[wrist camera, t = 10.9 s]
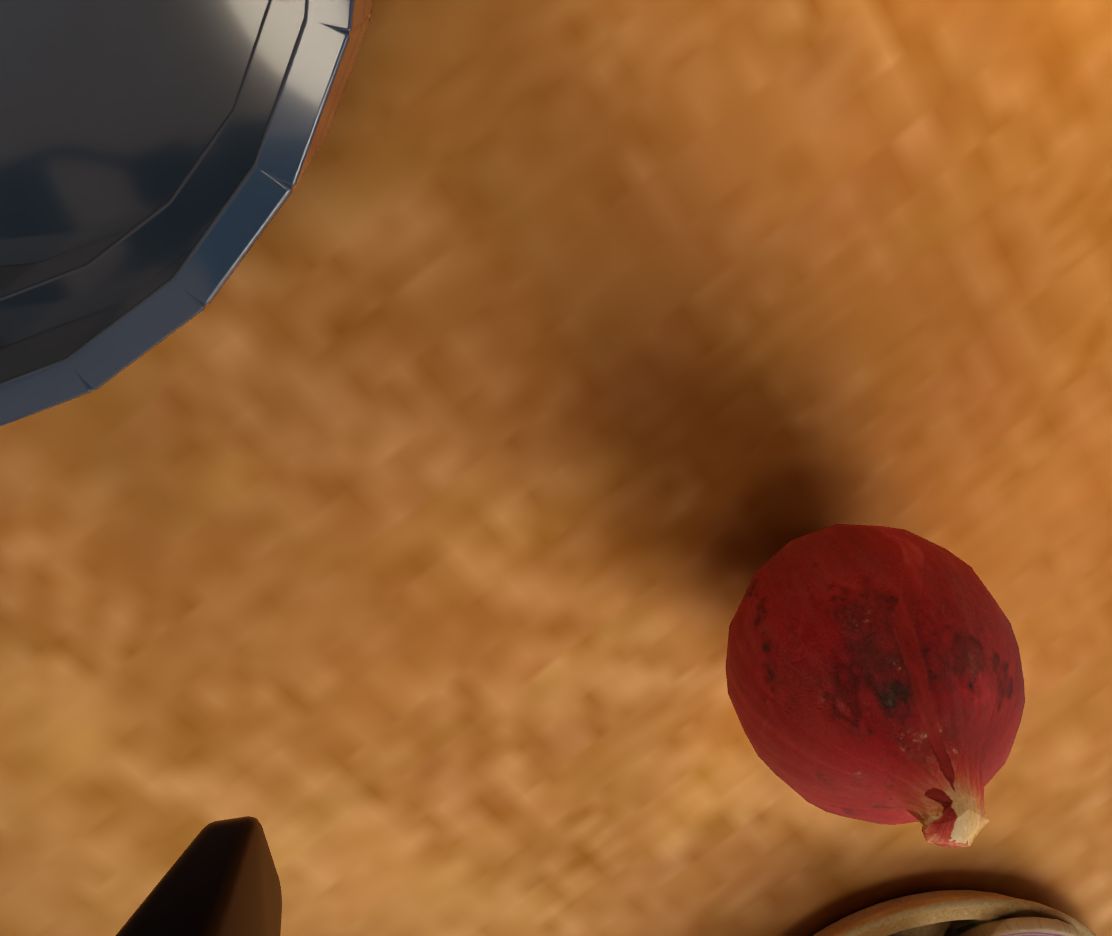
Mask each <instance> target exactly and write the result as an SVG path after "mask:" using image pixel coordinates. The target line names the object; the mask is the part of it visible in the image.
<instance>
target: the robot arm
mask: <svg viewBox="0 0 1112 936" xmlns="http://www.w3.org/2000/svg"><path fill="white" fill-rule="evenodd" d="M281 913H282V896H281V887H280V881H279V878H278V875H277V871H276V868H275V865H274V862H273V859H272V856H271V853H270V850H269V847H268V844H267V840H266V837H265V834H264V831H263V828H262V826H261V824H260V823H259V821H258V820H257V819H256V818H254V817H249V816H248V817H241V818H234V819H228V820H221V821H215V822H212V823H210V824H208V825H207V826H206V827H205V828H203V830H202V831H201V832H200V833H199V834H198V835H197V837H196V838H195V839H194V840H193V842H192V843H191V844H190V845H189V846H188V848H187V849H186V850H185V851H184V853H183V854H182V855H181V856H180V858H179V859H178V860H177V861H176V862H175V864H174V865H173V866H172V867H171V869H170V870H169V871H168V872H167V873H166V875H165V876H164V877H163V878H162V880H161V881H160V882H159V883H158V884H157V886H156V887H155V888H154V889H153V891H152V892H151V893H150V894H149V896H148V897H147V898H146V899H145V900H144V902H143V903H142V904H141V905H140V907H139V908H138V909H137V910H136V911H135V913H134V914H133V915H132V916H131V918H130V919H129V920H128V921H127V923H126V924H125V925H124V926H123V927H122V929H121V930H120V931H119V932H118V934H117V935H116V936H280V930H281Z"/></svg>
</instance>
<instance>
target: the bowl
mask: <svg viewBox="0 0 1112 936" xmlns="http://www.w3.org/2000/svg"><path fill="white" fill-rule="evenodd" d="M372 3H373V0H0V426H3V425H5V424H8V423H11V422H13V421H16V420H19V419H21V418H24V417H27V416H29V415H32V414H35V413H37V412H40V411H43V410H45V409H48V408H51V407H53V406H56V405H59V404H61V403H64V402H67V401H69V400H72V399H75V398H77V397H80V396H83V395H85V394H88V393H90V392H91V391H92V390H95V389H98V388H99V387H101V386H102V385H103V384H105V383H106V382H107V381H109V380H110V379H111V378H113V377H114V376H115V375H117V374H118V373H119V372H121V371H122V370H123V369H125V368H126V367H128V366H129V365H130V364H132V363H133V362H134V361H136V360H137V359H138V358H140V357H141V356H142V355H144V354H145V353H146V352H148V351H149V350H150V349H152V348H153V347H154V346H156V345H157V344H158V343H160V342H161V341H162V340H164V339H165V338H166V337H168V336H169V335H170V334H172V333H173V332H174V331H176V330H177V329H179V328H180V327H181V326H183V325H184V324H185V323H187V322H188V321H189V320H191V319H192V318H193V317H195V316H196V315H197V314H199V313H200V312H201V311H203V310H204V309H205V307H206V306H207V304H209V303H210V302H211V301H212V300H213V298H214V297H215V296H216V294H217V293H218V292H219V290H220V289H221V288H222V286H223V285H224V283H225V282H226V281H227V279H228V278H229V277H230V275H231V274H232V273H233V271H234V270H235V269H236V267H237V266H238V265H239V263H240V262H241V260H242V259H243V258H244V256H245V255H246V254H247V252H248V251H249V250H250V248H251V247H252V246H253V244H254V243H255V241H256V240H257V239H258V237H259V236H260V235H261V233H262V232H263V231H264V229H265V228H266V227H267V225H268V224H269V223H270V221H271V220H272V218H273V217H274V216H275V214H276V213H277V212H278V210H279V209H280V208H281V206H282V205H283V204H284V202H285V201H286V199H287V198H288V197H289V195H290V194H291V193H292V191H293V189H294V188H295V186H296V185H297V183H298V181H299V180H300V178H301V176H302V175H303V173H304V171H305V170H306V168H307V167H308V165H309V163H310V162H311V160H312V158H313V157H314V155H315V154H316V152H317V150H318V149H319V147H320V145H321V144H322V142H323V140H324V139H325V137H326V135H327V133H328V132H329V129H330V126H331V124H332V121H333V118H334V116H335V113H336V110H337V107H338V105H339V102H340V99H341V97H342V94H343V91H344V89H345V86H346V83H347V81H348V78H349V75H350V73H351V70H352V67H353V64H354V62H355V59H356V56H357V54H358V51H359V48H360V46H361V43H362V40H363V38H364V35H365V32H366V30H367V27H368V24H369V21H370V17H369V16H370V14H371V12H372Z"/></svg>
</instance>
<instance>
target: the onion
mask: <svg viewBox="0 0 1112 936" xmlns="http://www.w3.org/2000/svg"><path fill="white" fill-rule="evenodd" d="M726 676H727V687H728V694H729V697H730V699H731V701H732V704H733V706H734V708H735V711H736V713H737V715H738V717H739V720H740V722H741V724H742V727H743V729H744V731H745V733H746V735H747V737H748V739H749V741H750V742H751V744H752V746H753V748H754V749H755V751H756V753H757V755H758V756H759V757H760V758H761V759H762V760H763V761H764V762H765V764H766V765H767V766H768V767H769V768H770V769H771V770H772V771H773V772H774V773H775V774H776V775H777V776H778V777H780V778H781V779H782V780H783V781H784V782H785V783H787V784H788V785H789V786H790V787H791V788H792V789H794V790H795V791H796V792H797V793H798V794H799V795H801V796H802V797H803V798H804V799H805V800H806V801H808V802H809V803H811V804H813V805H815V806H817V807H819V808H820V809H822V810H824V811H826V812H830V813H833V814H837V815H840V816H844V817H849V818H854V819H858V820H863V821H868V822H873V823H878V824H889V825H896V824H904V823H911V822H918V821H919V822H920V823H921V824H923V827H922V832H923V834H924V836H925V838H926V841H927V842H928V843H932V844H936V845H940V846H946V847H966V846H971V844H972V842H973V840H974V838H975V837H976V835H977V833H978V832H979V831H980V830H981V829H982V828H983V827H984V826H985V825H986V824H987V823H988V822H989V819H988V817H987V814H986V811H985V809H984V787H985V785H986V784H987V783H988V782H989V781H990V780H991V779H992V778H993V776H994V775H995V774H996V773H997V772H998V771H999V770H1000V768H1001V767H1002V766H1003V765H1004V764H1005V762H1006V760H1007V758H1008V756H1009V754H1010V751H1011V748H1012V745H1013V742H1014V739H1015V737H1016V734H1017V731H1018V728H1019V725H1020V722H1021V717H1022V713H1023V708H1024V703H1025V694H1024V678H1023V672H1022V666H1021V660H1020V653H1019V647H1018V644H1017V641H1016V638H1015V636H1014V633H1013V630H1012V627H1011V624H1010V622H1009V620H1008V619H1007V617H1006V616H1005V614H1004V613H1003V611H1002V610H1001V608H1000V607H999V605H998V604H997V602H996V601H995V599H994V598H993V597H992V595H991V594H990V592H989V591H988V590H987V588H986V587H985V586H984V584H983V583H982V581H981V580H980V579H979V577H978V576H977V575H976V573H975V572H974V571H973V569H972V568H971V567H970V566H969V565H967V564H966V563H965V562H963V561H962V560H960V559H959V558H958V557H956V556H955V555H953V554H952V553H951V552H949V551H948V550H946V549H945V548H942V547H940V546H938V545H936V544H934V543H932V542H930V541H928V540H926V539H924V538H922V537H919V536H917V535H915V534H913V533H911V532H909V531H907V530H904V529H897V528H890V527H884V526H867V525H847V524H835V525H833V526H830V527H827V528H824V529H821V530H819V531H816V532H813V533H810V534H807V535H804V536H802V537H799V538H796V539H793V540H790V541H789V542H788V543H787V544H786V545H785V546H784V547H783V548H782V549H780V550H779V551H778V552H777V553H776V554H775V555H774V556H773V557H772V558H771V559H769V560H768V561H767V562H766V563H765V564H764V565H763V566H762V567H761V568H759V569H758V570H757V571H756V572H755V575H754V577H753V579H752V581H751V583H750V585H749V587H748V589H747V591H746V593H745V595H744V597H743V600H742V602H741V604H740V606H739V608H738V610H737V612H736V614H735V616H734V618H733V620H732V622H731V624H730V626H729V637H728V648H727V659H726Z"/></svg>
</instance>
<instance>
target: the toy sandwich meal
mask: <svg viewBox="0 0 1112 936" xmlns="http://www.w3.org/2000/svg"><path fill="white" fill-rule="evenodd" d="M813 936H1095V934H1094V933H1092V932H1091V931H1090V930H1089V929H1088V928H1087V927H1086V926H1084V925H1083V924H1081V923H1080V922H1079V921H1077V920H1075V919H1074V918H1072V917H1071V916H1069V915H1067V914H1065V913H1063V912H1061V911H1058V910H1056V909H1054V908H1051V907H1048V906H1046V905H1043V904H1040V903H1036V902H1033V901H1029V900H1024V899H1018V898H1013V897H1010V896H1006V895H1002V894H997V893H993V892H984V891H974V890H942V891H933V892H926V893H919V894H913V895H908V896H904V897H900V898H896V899H892V900H888V901H885V902H882V903H879V904H876V905H873V906H870V907H868V908H865V909H862V910H860V911H858V912H855V913H853V914H851V915H848V916H846V917H844V918H842V919H840V920H839V921H837V922H835V923H833V924H831V925H829V926H827V927H826V928H824V929H822V930H821V931H819V932H817V933H816V934H814V935H813Z"/></svg>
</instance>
